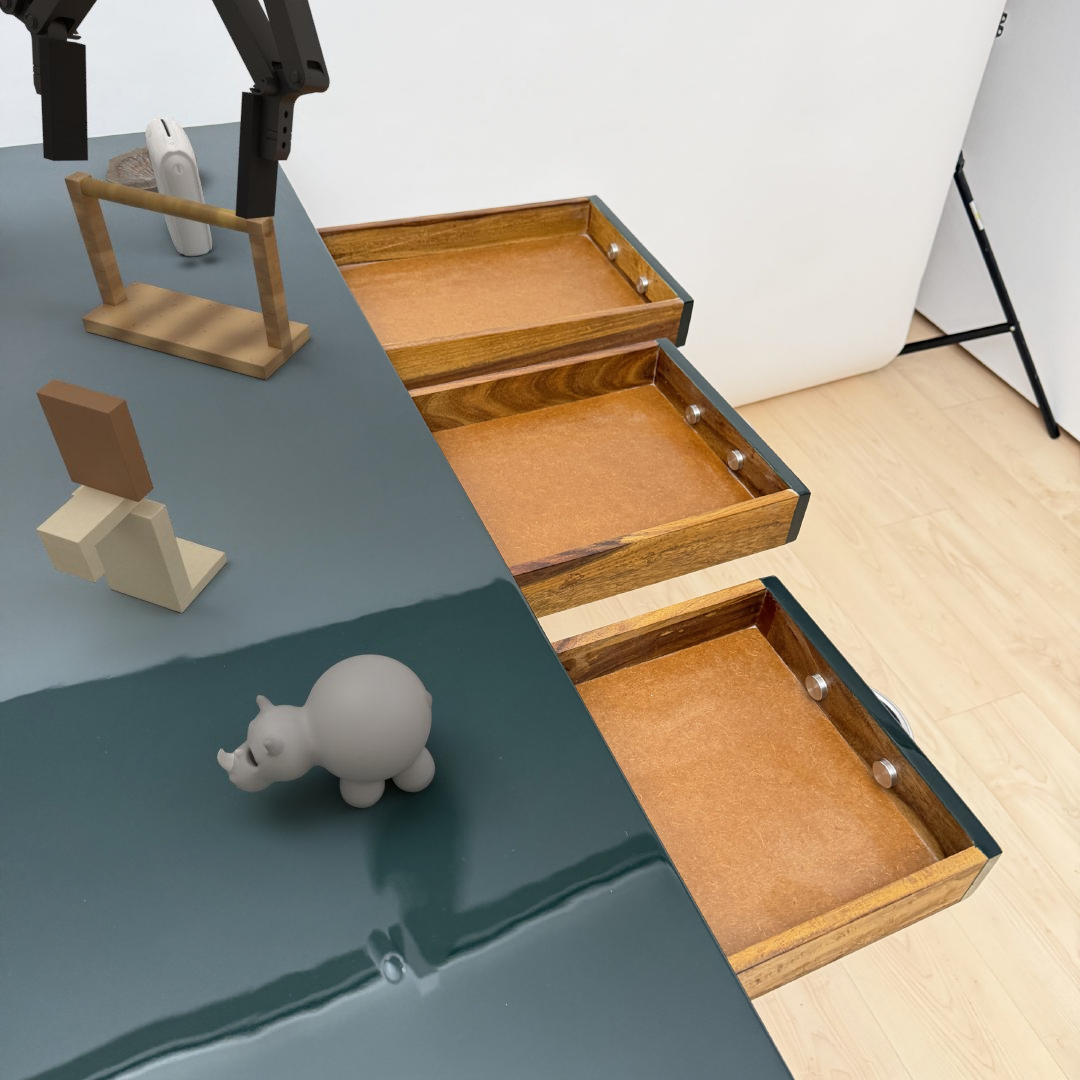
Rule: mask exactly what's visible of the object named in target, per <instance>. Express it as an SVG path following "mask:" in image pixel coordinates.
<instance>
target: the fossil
mask: <svg viewBox="0 0 1080 1080" xmlns="http://www.w3.org/2000/svg"><path fill="white" fill-rule="evenodd" d="M194 155H195V158H196V163H197V164H198V159H197V156H196V153H195V152H194ZM105 181H107V182H111V183H116V184H120V185H124V186H129V187H133V188H137V189H142V190H146V191H151V192H155V193H159V191H158V187H157V183H156V179H155V175H154V171H153V167H152V163H151V159H150V154H149V150H148V147H147V145H146V146H143V147H135V148H134V149H131V150H129V151H127V152H124V153H121V154H118V155H116V156H114V157H112V158H110V159H108V168H107V170H106V173H105Z"/></svg>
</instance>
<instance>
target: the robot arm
mask: <svg viewBox="0 0 1080 1080" xmlns="http://www.w3.org/2000/svg"><path fill="white" fill-rule="evenodd" d="M97 1H98V0H0V10H1V11H2V13H4V14H5V15H10V16H13V17H15V18H16V19H17V20H18V21H20V22H21V23H23V24H24V27H25V28H26V30H27V32H29V34H30V38H31V57H32V73H33V74H32V79H33V80H32V81H33V87H34V89H35V94H36V95H39V96H40V104H41V127H42V131H41V132H42V152H43V156H42V157H43V159H46V160H48V161H52V162H85V161H86V162H87V161H89V142H88V140H89V139H88V138H89V137H88V136H89V135H88V133H89V132H88V91H87V88H88V87H87V45H86V44H84V43H80V42H77V41H78V40H81V39H82V36H81V35H79V31H78V29H79V27H80V26H81V24H82V23H83V22H84V20H85V18H87V15H88V14H89V13H90V11H91V10H92V8H93V7H94V5H96V2H97ZM262 1H263V5H264V8H265V10H264V8H263V6H262V4H261V3H260V0H211V2H212V4H213V5H214V7H215V9H216V11H217V13H218V15H219V18H220V19H221V21H222V23H223V25H224V27H225V29H226V31H227V33H228V35H229V36H230V38H231V41H232V42H233V45H234V46H235V49H236V50H237V53H238V55H239V56H240V58H241V60H242V62H243V64H244V66H245V68H246V70H247V72H248V74H249V76H250V78H251V80H252V82H253V83H254V84H253V85H252V87H249V88H248V89H249V91H241V103H240V104H241V105H240V121H239V123H240V124H239V142H238V159H237V160H238V162H237V179H236V180H237V181H236V200H235V211H236V215H235V216H238V217H241V218H244V219H254V218H263V217H272V216H273V217H275V214H276V199H277V186H278V172H279V161H288V158H289V156H290V154H291V151H292V140H293V139H292V138H293V137H292V136H293V134H292V133H293V125H294V113H295V104H296V101H297V100H298V99H299V98H300V97H301V96H305V95H311V94H317V93H318V94H322V93H323V94H324V93H325V92H326V91H328V89H329V87H330V84H331V80H330V75H329V71H328V68H327V65H326V61H325V57H324V54H323V50H322V46H321V42H320V39H319V35H318V31H317V28H316V24H315V20H314V17H313V14H312V9H311V6H310V2H309V0H262ZM265 12H266V13H265ZM71 40H72V41H71ZM74 40H75V41H74Z"/></svg>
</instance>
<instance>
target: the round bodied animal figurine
mask: <svg viewBox="0 0 1080 1080" xmlns="http://www.w3.org/2000/svg"><path fill="white" fill-rule="evenodd" d="M255 701H256V704H257V706H258V707H259V710H260V711H259V713H258V714H257V715H256V716H255V718H254V719H252V720H251V721H250V722H249V724H248V728H247V735H246V740H245V741H244V742H243V743H242V744H241V745H239V746H238V747H237V748H236V749H235V750H234V751H232V752H226V751H224V749H223V748H220V749H219V751H218V752H217V755H216V756H217V757H216V759H217V762H218V764H219V765H220V766H221V768H223V769H224V770H225V771H226V773H227V775H228V779H229V781H230V782H231V783H232V784H233V785H234V786H235V787H236V788H237V789H239V790H241V791H242V792H245V793H256V792H261V791H263V790H266V789H267V788H268V787H270V786H271V785H272V784H274V783H277V782H292V781H294V780H297V779H299V778H301V777H303V776H304V775H306V774H307V773H308V772H309V771H310V770H311V769H312V768H314V767H321V768H324V769H325V770H327V771H328V772H330V774H332V775H334V776H335V777H337V778H339V790H340V794H341V797H342V799H343V800H344V801H345V803H347V804H348V805H350V806H352V807H354V808H359V809H366V808H369V807H372V806H374V805H375V804H376V803H377V802H378V801H379V800H380V799H381V798H382V796H383V795H384V792H385V788H386V781H385V780H389V779H390V778H391V779H392V781H393V782H394V784H395V785H396V786H397V788H399V790H402V791H404V792H408V793H418V792H421V791H423V790H424V789H426V788H427V787H428V786H429V785H430V783H432V781H433V779H434V776H435V772H436V766H435V762H434V758H433V756H432V755H431V753H430V751H429V750H428V749H427V747H426V745H427V743H428V739H429V735H430V732H431V728H432V720H433V719H432V716H433V714H432V705H433V697H432V694H431V693H430V692H429V691H427V690H426V687H425V685H424V684H423V682H422V681H421V679H420V678H419V677H418V675H417V674H416V673H415V672H414V671H413V670H412V669H411V668H410V667H408V666H407V665H405V664H404V663H402V662H400V661H399V660H397V659H395V658H392V657H390V656H385V655H381V654H371V653H370V654H359V655H355V656H350V657H348V658H345V659H342V660H341V661H338V662H336V663H335V664H334V665H332V666H331V667H329V668H328V669H327V670H326V671H324V673H322V674H321V675H320V677H319V678H318V679H317V680H316V681H315V683H314V684H313V686H312V688H311V690H310V692H309V694H308V697H307V699H306V701H305V703H304V705H302V706H295V705H292V704H291V705H290V704H279V705H274V704H273V703H272V702H271V700H270V699H269V698H267V697H266V696H264V695H261V694H257V696H256V699H255Z"/></svg>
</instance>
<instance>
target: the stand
mask: <svg viewBox="0 0 1080 1080" xmlns="http://www.w3.org/2000/svg"><path fill="white" fill-rule="evenodd" d="M64 182H65V186H66V188H67V192H68V195H69V198H70V201H71V205H72V209H73V211H74V213H75V214H74V215H75V218H76V220H77V224H78V227H79V230H80V234H81V238H82V240H83V243H84V245H85V249H86V253H87V256H88V259H89V262H90V266H91V269H92V271H93V276H94V278H95V281H96V284H97V289H98V291H99V295H100V298H101V301H102V303H101V304H99V305H98V306H96V307H95V308H94V309H92V310H91V311H89V312H88V313H86V314H85V315H83V316H81V322H82V324H83V327H84V331H85V332H88V333H91V334H95V335H98V336H101V337H106V338H109V339H113V340H117V341H121V342H124V343H127V344H132V345H135V346H139V347H143V348H145V349H146V348H147V349H150V350H154V351H158V352H161V353H165V354H168V355H172V356H176V357H180V358H184V359H187V360H191V361H194V362H198V363H202V364H205V365H210V366H213V367H216V368H220V369H224V370H228V371H232V372H236V373H239V374H242V375H247V376H250V377H254V378H256V379H257V378H258V379H261V380H264V381H266V380H268V379H269V378H270V377H271V376H272V375H274V374H275V372H277V370H279V369H280V368H281V367H283V365H284V364H285V363H286V362H287V361H288V360H289V359H290V358H291V357H292V356H293V355H295V354H296V353H297V352H298V351H299V350H300V349H301V348H302V347H303V346H304V345H305V344H306V343H307V342H308V341H309V340H311V333H310V325H309V324H306V323H301V322H298V321H295V320H294V321H293V320H289V315H288V308H287V307H288V306H287V301H286V294H285V288H284V283H283V275H282V274H283V273H282V268H281V263H280V255H279V250H278V242H277V236H276V229H275V223H274V216H272V217H263V218H254V219H244V218H241V217H238V216H235V215H236V210H234V209H229V208H225V207H221V206H215V205H211V204H207V203H205V204H203V203H199V202H194V201H190V200H186V199H181V198H177V197H172V196H168V195H164V194H159V193H155V192H151V191H146V190H142V189H137V188H133V187H129V186H124V185H120V184H116V183H111V182H108V181H107V180H102V179H97V178H93V176H92V174H91V173H87V172H82V171H78V170H77V171H76V172H74V173H71V174H70V175H68V176H66V177H64ZM100 200H103V201H107V202H111V203H115V204H119V205H124V206H129V207H133V208H136V209H141V210H146V211H150V212H154V213H158V214H163V215H164V214H166V215H171V216H175V217H179V218H184V219H188V220H192V221H196V222H201V223H205V224H209V226H214V227H219V228H222V229H227V230H231V231H234V232H235V231H236V232H238V233H239V232H240V233H244V234H248V239H249V245H250V251H251V257H252V262H253V263H252V264H253V269H254V273H255V279H256V285H257V291H258V296H259V301H260V308H261V312H259V311H254V310H250V309H246V308H242V307H238V306H235V305H230V304H226V303H222V302H219V301H214V300H210V299H207V298H202V297H199V296H195V295H191V294H187V293H183V292H180V291H175V290H171V289H167V288H165V287H164V288H163V287H161V286H155V285H151V284H147V283H144V282H140V281H133V282H132V283H130V284H128V285H127V286H126V287H125V286H124V285H125V284H124V282H123V278H122V276H121V272H120V268H119V265H118V261H117V259H116V255H115V251H114V248H113V244H112V240H111V238H110V237H111V236H110V234H109V230H108V227H107V224H106V221H105V217H104V214H103V211H102V207H101V203H100Z"/></svg>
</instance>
